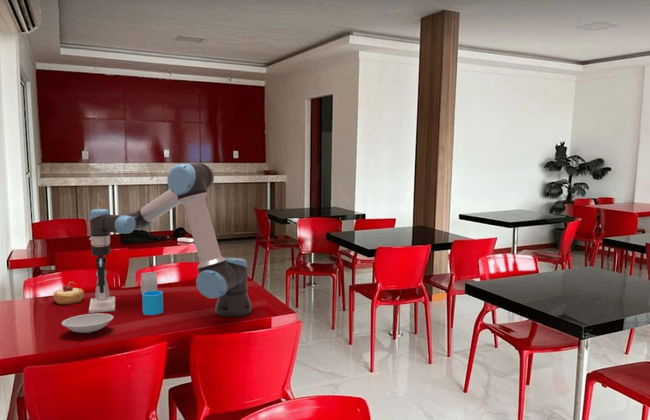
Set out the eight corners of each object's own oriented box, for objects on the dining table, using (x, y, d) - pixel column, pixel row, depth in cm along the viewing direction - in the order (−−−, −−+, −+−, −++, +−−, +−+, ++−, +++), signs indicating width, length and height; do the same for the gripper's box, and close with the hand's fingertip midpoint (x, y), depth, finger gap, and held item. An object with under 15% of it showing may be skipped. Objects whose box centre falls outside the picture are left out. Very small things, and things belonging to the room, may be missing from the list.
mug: (163, 314, 218) (163, 295, 218) (142, 315, 216) (142, 296, 215) (162, 305, 230) (161, 287, 229) (142, 307, 227) (141, 289, 226)
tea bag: (157, 293, 249) (157, 272, 248) (142, 295, 245) (142, 274, 244) (155, 291, 252) (155, 271, 251) (141, 293, 248) (140, 272, 247)
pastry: (48, 305, 230) (46, 285, 228) (69, 297, 241) (67, 278, 240) (69, 307, 226) (67, 287, 225) (90, 299, 237) (88, 280, 236)
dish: (110, 323, 206) (110, 311, 205) (116, 334, 194) (116, 321, 193) (60, 330, 197) (60, 317, 197) (63, 343, 185) (63, 329, 184)
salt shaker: (105, 297, 231) (104, 268, 230) (112, 299, 227) (111, 270, 226) (92, 299, 227) (91, 270, 225) (99, 302, 223) (98, 272, 221)
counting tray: (114, 310, 221) (114, 307, 221) (88, 313, 218) (88, 309, 218) (115, 299, 237) (115, 296, 237) (90, 301, 233) (90, 298, 233)
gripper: (91, 241, 232) (93, 292, 234) (89, 249, 214) (92, 304, 217) (110, 240, 234) (112, 291, 237) (109, 248, 217) (111, 303, 220)
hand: (102, 297), depth 227 cm, fingers closed on salt shaker, 6 cm apart
